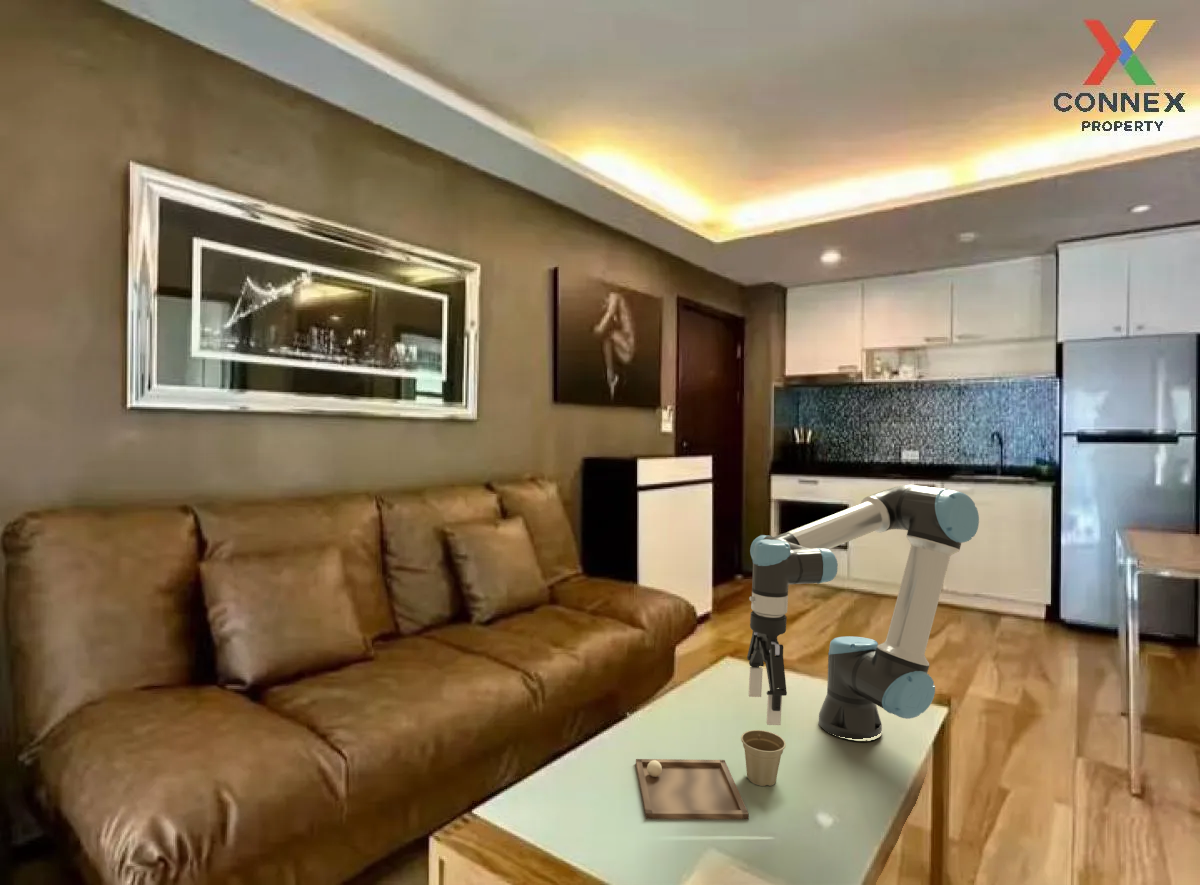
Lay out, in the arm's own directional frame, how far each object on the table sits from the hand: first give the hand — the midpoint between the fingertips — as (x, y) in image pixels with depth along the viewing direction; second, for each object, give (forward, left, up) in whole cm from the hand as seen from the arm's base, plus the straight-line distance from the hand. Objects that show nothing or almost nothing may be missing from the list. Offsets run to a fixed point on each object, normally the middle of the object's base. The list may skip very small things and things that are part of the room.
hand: (763, 709), depth 141 cm
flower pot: (0, 0, -16) cm, 16 cm away
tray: (+17, +5, -15) cm, 23 cm away
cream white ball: (+23, 0, -15) cm, 28 cm away
